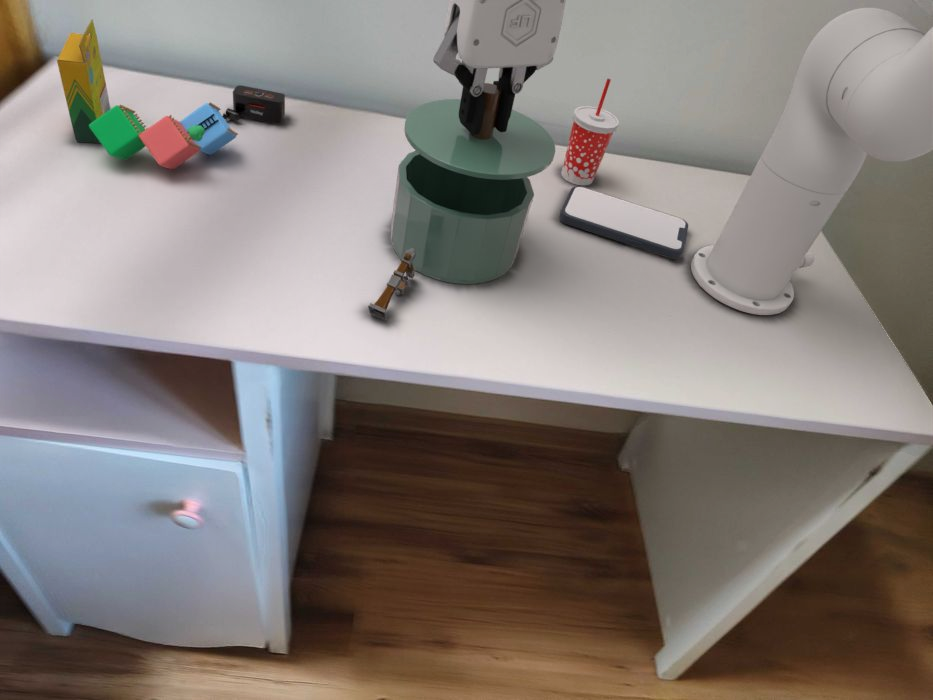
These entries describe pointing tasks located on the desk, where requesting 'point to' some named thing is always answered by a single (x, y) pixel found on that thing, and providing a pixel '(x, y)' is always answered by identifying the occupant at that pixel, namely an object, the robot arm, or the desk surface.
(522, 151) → the lid
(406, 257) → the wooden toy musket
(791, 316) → the desk surface
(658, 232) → the smartphone
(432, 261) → the tin
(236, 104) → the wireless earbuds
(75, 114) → the crayon box
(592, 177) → the beverage cup
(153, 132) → the building blocks
